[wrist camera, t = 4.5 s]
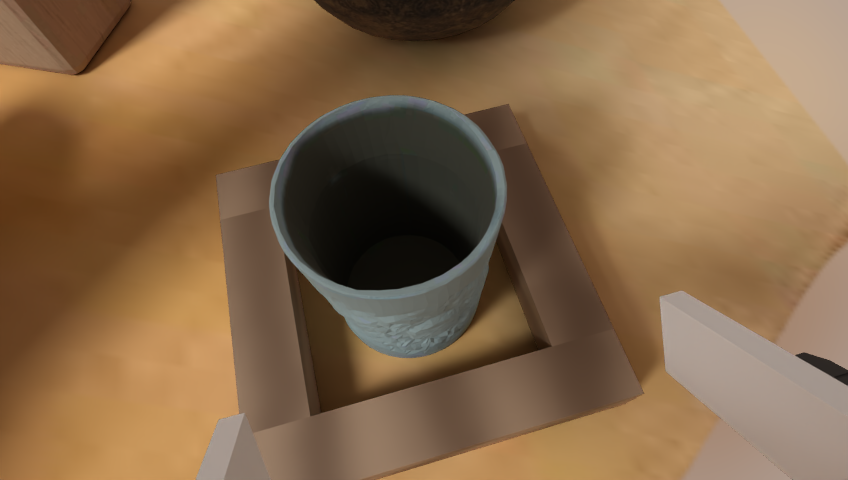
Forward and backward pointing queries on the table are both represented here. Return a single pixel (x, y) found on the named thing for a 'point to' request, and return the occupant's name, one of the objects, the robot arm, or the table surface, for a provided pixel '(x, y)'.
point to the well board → (437, 400)
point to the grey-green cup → (392, 218)
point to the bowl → (414, 16)
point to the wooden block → (56, 32)
